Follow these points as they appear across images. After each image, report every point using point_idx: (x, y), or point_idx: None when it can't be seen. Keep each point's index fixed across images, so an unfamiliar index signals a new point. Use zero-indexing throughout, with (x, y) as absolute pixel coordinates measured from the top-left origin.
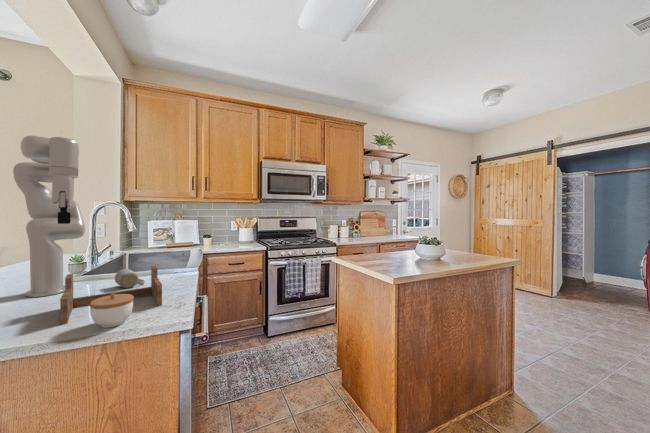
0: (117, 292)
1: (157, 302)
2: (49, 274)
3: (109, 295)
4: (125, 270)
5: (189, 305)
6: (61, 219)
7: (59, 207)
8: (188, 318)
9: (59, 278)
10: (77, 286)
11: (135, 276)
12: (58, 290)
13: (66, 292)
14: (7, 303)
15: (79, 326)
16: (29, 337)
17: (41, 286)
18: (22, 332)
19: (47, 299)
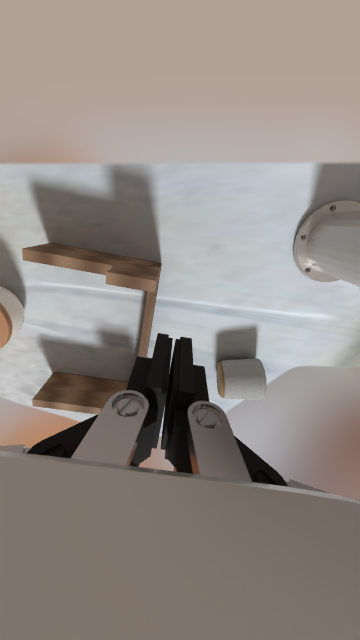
0: (141, 343)
1: (51, 376)
2: (334, 252)
3: (4, 324)
4: (250, 390)
5: (26, 403)
6: (135, 365)
7: (40, 446)
8: None
9: (327, 270)
10: (332, 298)
11: (219, 393)
12: (304, 262)
13: (79, 264)
14: (302, 166)
15: (21, 265)
16: (10, 197)
17: (321, 232)
18: (47, 188)
19: (262, 238)
